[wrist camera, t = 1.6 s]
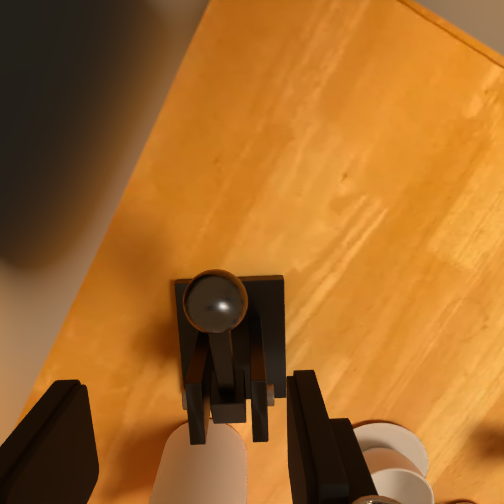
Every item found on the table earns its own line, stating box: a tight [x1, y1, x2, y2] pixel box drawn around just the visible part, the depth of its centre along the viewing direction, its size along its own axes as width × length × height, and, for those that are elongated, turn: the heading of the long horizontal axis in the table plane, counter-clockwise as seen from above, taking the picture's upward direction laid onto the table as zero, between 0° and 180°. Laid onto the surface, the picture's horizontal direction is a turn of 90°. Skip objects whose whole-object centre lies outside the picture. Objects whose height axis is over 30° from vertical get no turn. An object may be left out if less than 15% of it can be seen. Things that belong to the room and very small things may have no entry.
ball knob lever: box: [183, 269, 248, 424], centre depth 24 cm, size 13×3×3 cm
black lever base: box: [175, 275, 286, 445], centre depth 31 cm, size 11×9×11 cm
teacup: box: [353, 423, 434, 504], centre depth 37 cm, size 10×10×5 cm
